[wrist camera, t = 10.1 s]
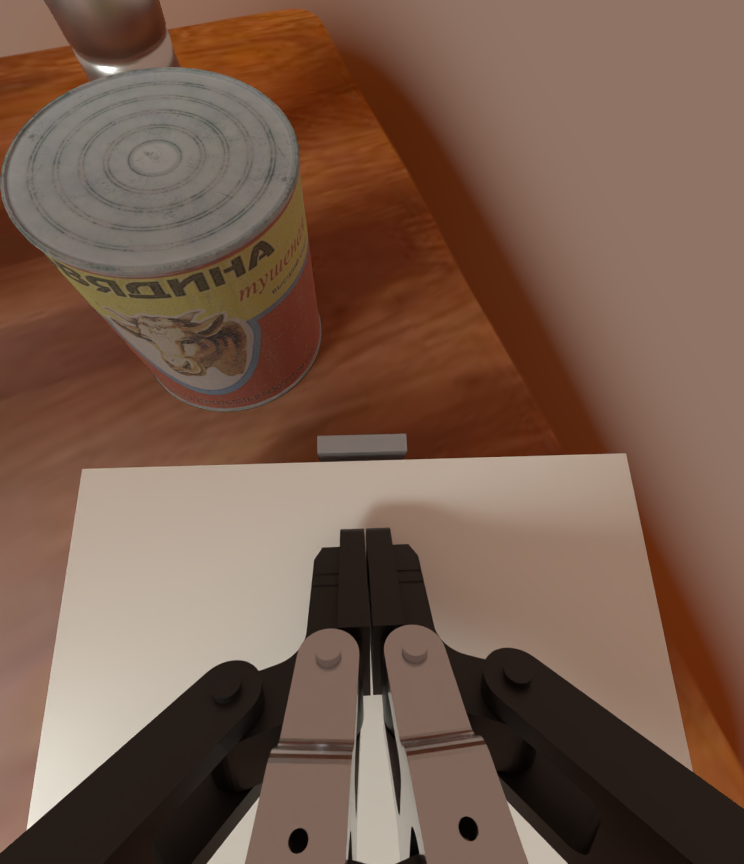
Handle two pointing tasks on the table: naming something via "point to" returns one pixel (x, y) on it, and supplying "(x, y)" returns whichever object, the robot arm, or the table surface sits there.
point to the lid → (291, 587)
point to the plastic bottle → (115, 34)
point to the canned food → (177, 226)
